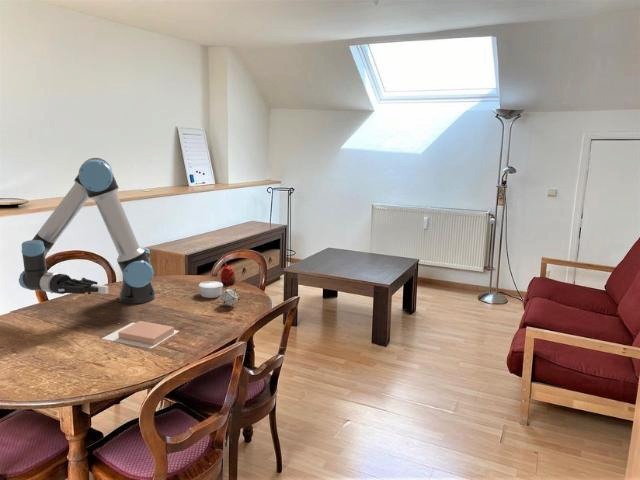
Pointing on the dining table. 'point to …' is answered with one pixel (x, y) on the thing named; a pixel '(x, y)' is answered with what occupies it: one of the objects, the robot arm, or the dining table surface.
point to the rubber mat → (116, 338)
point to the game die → (229, 297)
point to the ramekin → (210, 289)
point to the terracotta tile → (146, 332)
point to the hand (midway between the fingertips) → (106, 290)
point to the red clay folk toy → (227, 274)
